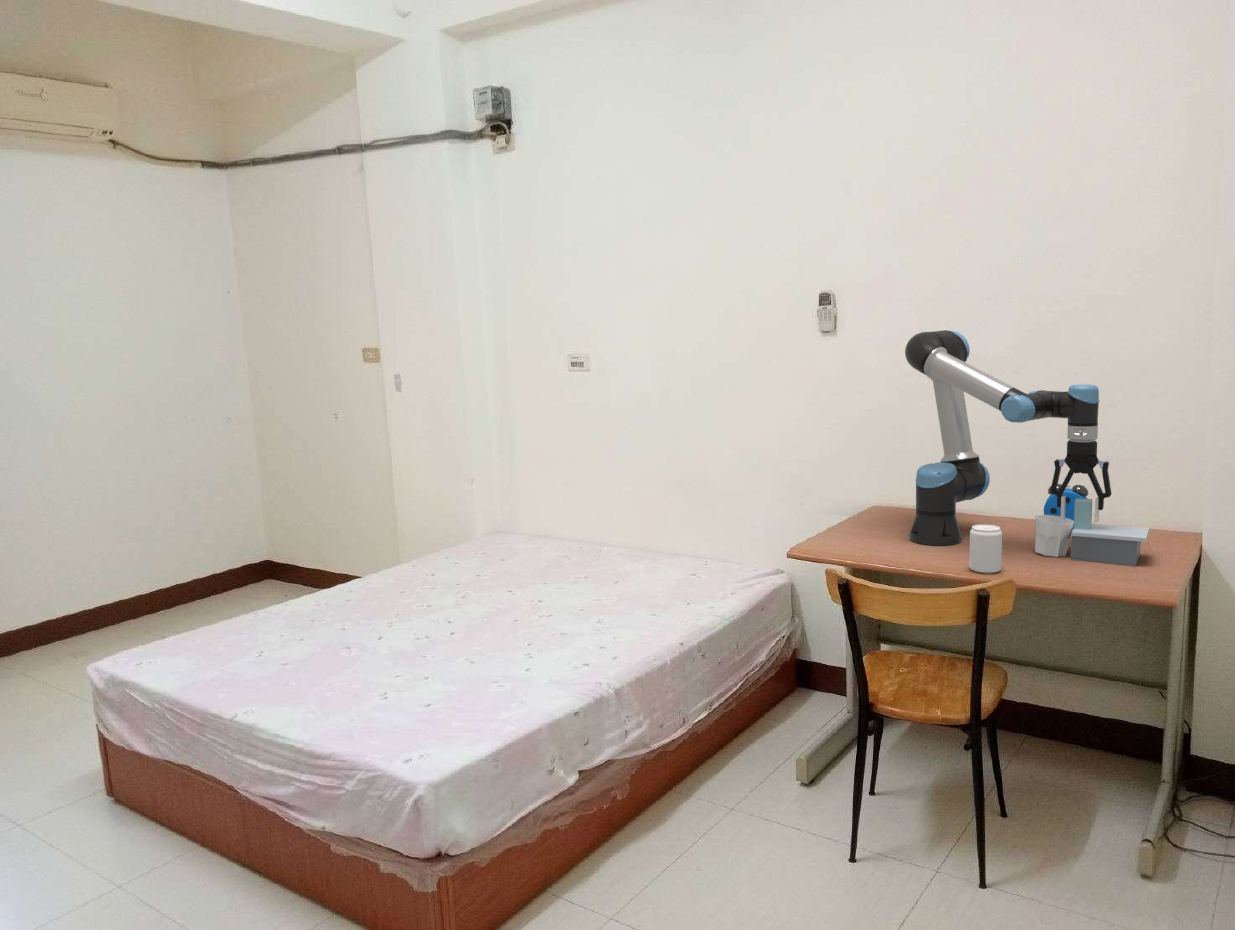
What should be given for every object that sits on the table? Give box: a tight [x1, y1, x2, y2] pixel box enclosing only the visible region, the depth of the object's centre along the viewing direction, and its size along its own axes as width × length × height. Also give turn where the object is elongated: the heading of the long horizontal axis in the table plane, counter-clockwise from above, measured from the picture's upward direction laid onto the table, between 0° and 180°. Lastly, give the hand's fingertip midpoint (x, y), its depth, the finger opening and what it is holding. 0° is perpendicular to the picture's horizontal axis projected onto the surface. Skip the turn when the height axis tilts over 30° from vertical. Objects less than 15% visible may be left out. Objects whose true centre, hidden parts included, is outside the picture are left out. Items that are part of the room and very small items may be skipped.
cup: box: [1034, 514, 1074, 558], centre depth 259 cm, size 10×10×10 cm
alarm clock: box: [1043, 483, 1089, 531], centre depth 284 cm, size 13×6×15 cm, turn 61°
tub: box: [1070, 536, 1142, 567], centre depth 253 cm, size 16×12×7 cm
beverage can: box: [968, 523, 1003, 574], centre depth 246 cm, size 8×8×12 cm
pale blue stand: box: [1070, 498, 1150, 543], centre depth 251 cm, size 18×13×9 cm
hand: (1079, 519), depth 256 cm, fingers open, 8 cm apart
